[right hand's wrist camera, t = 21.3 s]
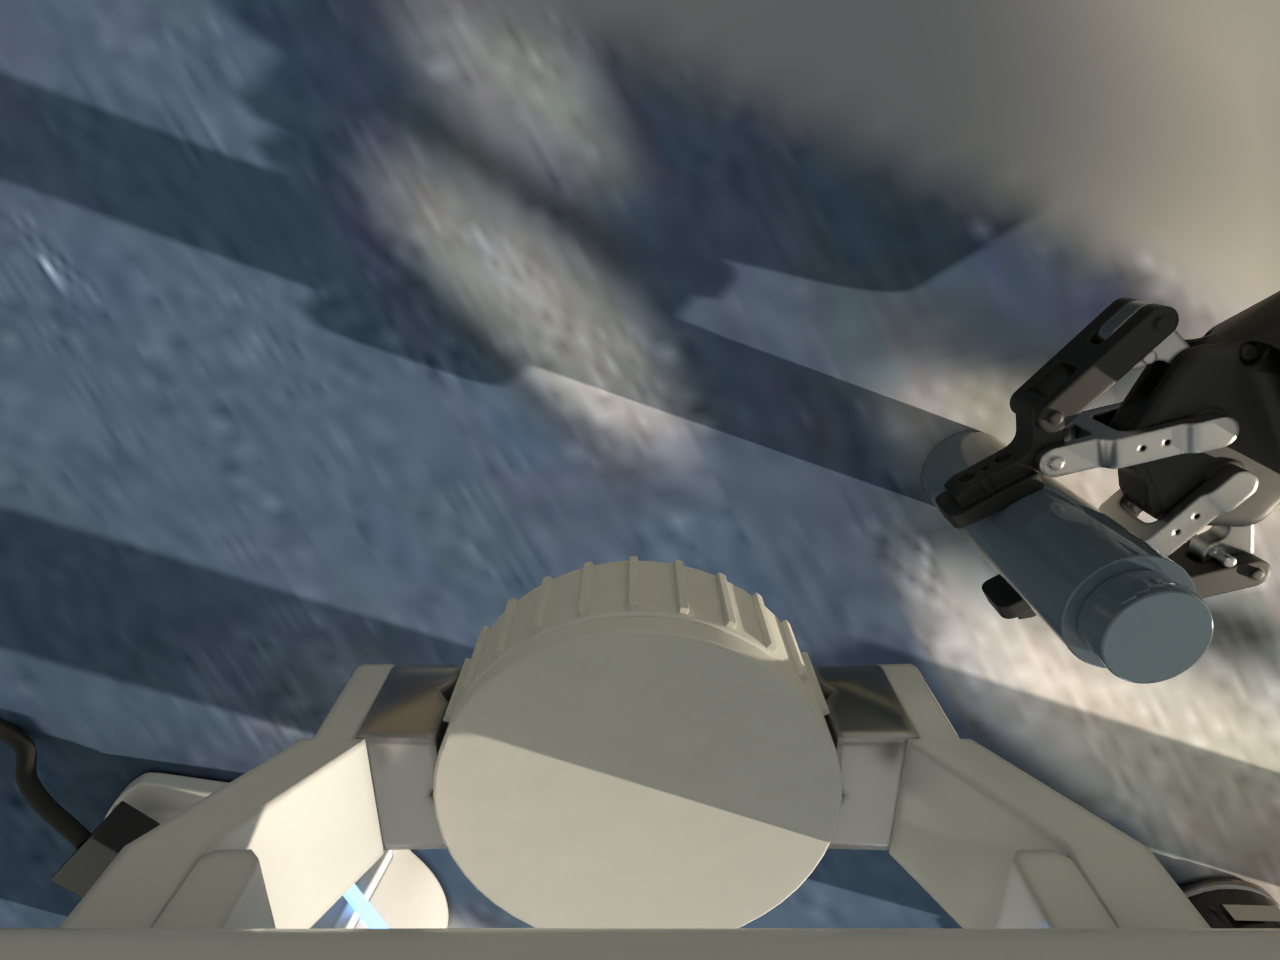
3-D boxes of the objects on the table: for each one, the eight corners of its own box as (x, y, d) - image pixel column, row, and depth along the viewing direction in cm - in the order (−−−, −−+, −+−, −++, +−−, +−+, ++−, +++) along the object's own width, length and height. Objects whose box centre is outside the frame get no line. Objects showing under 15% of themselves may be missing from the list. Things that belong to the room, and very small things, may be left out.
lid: (383, 699, 10) (336, 792, 9) (656, 477, 9) (661, 537, 7) (622, 894, 12) (620, 1006, 10) (886, 725, 10) (932, 821, 9)
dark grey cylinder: (1025, 476, 37) (1253, 646, 23) (951, 527, 38) (1126, 718, 24) (980, 413, 36) (1192, 551, 22) (904, 468, 37) (1061, 632, 23)
